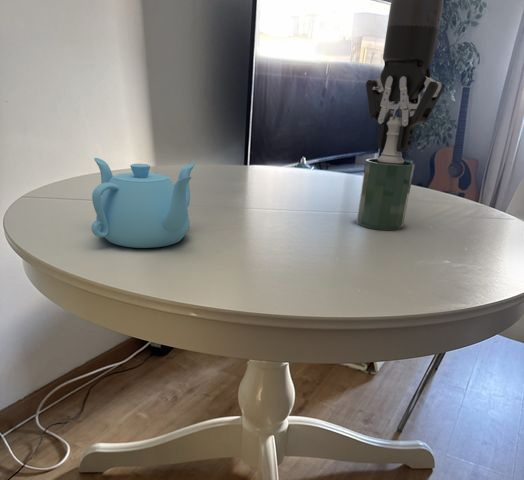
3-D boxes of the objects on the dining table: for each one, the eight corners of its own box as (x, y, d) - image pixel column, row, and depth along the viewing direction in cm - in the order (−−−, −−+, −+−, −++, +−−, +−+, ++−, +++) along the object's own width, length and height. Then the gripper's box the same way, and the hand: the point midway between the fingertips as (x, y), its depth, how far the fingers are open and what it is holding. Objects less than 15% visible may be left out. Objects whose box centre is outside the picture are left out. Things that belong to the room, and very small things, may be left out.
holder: (376, 217, 90) (386, 157, 85) (411, 227, 85) (424, 164, 80) (347, 221, 86) (356, 159, 81) (382, 232, 80) (394, 166, 75)
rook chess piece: (406, 170, 81) (416, 118, 78) (397, 172, 78) (406, 118, 74) (381, 167, 83) (389, 116, 80) (371, 169, 80) (379, 116, 76)
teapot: (80, 252, 63) (69, 170, 58) (103, 223, 76) (95, 154, 71) (193, 254, 65) (191, 175, 60) (196, 226, 78) (195, 158, 73)
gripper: (470, 25, 68) (442, 155, 77) (391, 30, 78) (374, 145, 86) (439, 19, 64) (414, 156, 72) (360, 25, 74) (345, 145, 82)
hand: (392, 149), depth 79 cm, fingers closed on rook chess piece, 3 cm apart
